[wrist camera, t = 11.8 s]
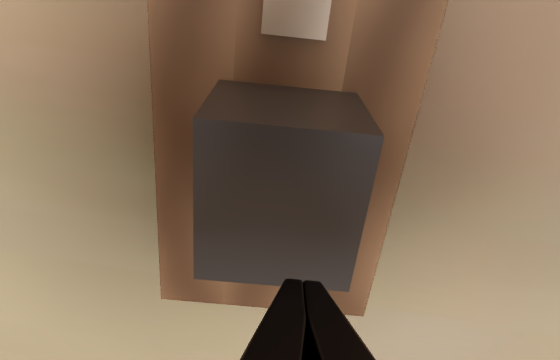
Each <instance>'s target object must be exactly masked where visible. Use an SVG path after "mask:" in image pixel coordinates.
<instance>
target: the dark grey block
mask: <svg viewBox="0 0 560 360" xmlns="http://www.w3.org/2000/svg"><path fill="white" fill-rule="evenodd" d="M383 141H384V135H383V133H382V131H381V130H380V128H379V127H378V125H377V124H376V122H375V120H374V119H373V117H372V116H371V114H370V113H369V111H368V109H367V108H366V106H365V105H364V103H363V102H362V100H361V98H360V97H359V95H358V94H357V93H351V92H341V91H331V90H321V89H311V88H301V87H291V86H281V85H271V84H260V83H250V82H240V81H230V80H220V79H219V80H218V82H217V83H216V85H215V86H214V88H213V89H212V91H211V92H210V94H209V95H208V96H207V98H206V99H205V101H204V102H203V104H202V105H201V107H200V108H199V109H198V111H197V112H196V114H195V115H194V117H193V279H198V280H210V281H222V282H234V283H246V284H258V285H270V286H281V285H282V283H283V281H284V280H285V279H287V278H290V279H300V280H302V282H304V281H305V280H312V281H320V282H321V283H322V284H323V285H324V287H325V288H326V290H329V291H341V292H349V290H350V285H351V281H352V276H353V272H354V268H355V263H356V259H357V255H358V250H359V246H360V241H361V237H362V233H363V228H364V224H365V220H366V215H367V211H368V206H369V202H370V198H371V193H372V189H373V185H374V180H375V176H376V171H377V167H378V163H379V158H380V154H381V150H382V145H383Z"/></svg>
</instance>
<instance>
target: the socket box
mask: <svg viewBox="0 0 560 360" xmlns="http://www.w3.org/2000/svg"><path fill="white" fill-rule="evenodd" d="M147 2H148V24H149V46H150V67H151V89H152V111H153V133H154V155H155V177H156V198H157V220H158V242H159V264H160V286H161V299H170V300H181V301H193V302H204V303H216V304H228V305H239V306H251V307H262V308H269V307H270V305H271V303H272V301H273V299H274V298H275V296H276V294H277V292H278V290H279V289H280V287H281V286H270V285H258V284H246V283H234V282H222V281H210V280H198V279H193V117H194V115H195V114H196V112H197V111H198V109H199V108H200V107H201V105H202V104H203V102H204V101H205V99H206V98H207V96H208V95H209V94H210V92H211V91H212V89H213V88H214V86H215V85H216V83H217V82H218V80H219V79H220V80H230V81H240V82H250V83H260V84H271V85H281V86H291V87H301V88H311V89H321V90H331V91H341V92H351V93H357V94H358V95H359V97H360V98H361V100H362V102H363V103H364V105H365V106H366V108H367V109H368V111H369V113H370V114H371V116H372V117H373V119H374V120H375V122H376V124H377V125H378V127H379V128H380V130H381V131H382V133H383V135H384V141H383V145H382V150H381V154H380V158H379V163H378V167H377V171H376V176H375V180H374V185H373V189H372V193H371V198H370V202H369V206H368V211H367V215H366V220H365V224H364V228H363V233H362V237H361V241H360V246H359V250H358V255H357V259H356V263H355V268H354V272H353V276H352V281H351V285H350V290H349V292H341V291H329V290H327V291H328V292H329V294H330V295H331V297H332V298H333V300H334V301H335V302H336V304H337V305H338V307H339V308H340V310H341V311H342V312H343V314H344V315H354V316H364V313H365V309H366V305H367V301H368V298H369V294H370V290H371V287H372V283H373V279H374V275H375V272H376V268H377V264H378V260H379V257H380V253H381V249H382V246H383V242H384V238H385V234H386V231H387V227H388V223H389V219H390V216H391V212H392V208H393V204H394V201H395V197H396V193H397V190H398V186H399V182H400V178H401V175H402V171H403V167H404V163H405V160H406V156H407V152H408V149H409V145H410V141H411V137H412V134H413V130H414V126H415V122H416V119H417V115H418V111H419V107H420V104H421V100H422V96H423V93H424V89H425V85H426V81H427V78H428V74H429V70H430V66H431V63H432V59H433V55H434V52H435V48H436V44H437V40H438V37H439V33H440V29H441V25H442V22H443V18H444V14H445V11H446V7H447V3H448V0H147Z"/></svg>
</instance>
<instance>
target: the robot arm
mask: <svg viewBox="0 0 560 360" xmlns="http://www.w3.org/2000/svg"><path fill="white" fill-rule="evenodd" d="M240 360H376V359H375V358H374V357H373V355H372V354H371V352H370V351H369V349H368V348H367V347H366V345H365V344H364V342H363V341H362V339H361V338H360V337H359V335H358V334H357V332H356V331H355V330H354V328H353V327H352V325H351V324H350V322H349V321H348V320H347V318H346V317H345V315H344V314H343V312H342V311H341V310H340V308H339V307H338V305H337V304H336V302H335V301H334V300H333V298H332V297H331V295H330V294H329V292H328V291H327V290H326V288H325V287H324V285H323V284H322V283H321V282H320V281H312V280H305V281H304V282H302V280H300V279H290V278H287V279H285V280H284V281H283V283H282V285H281V287H280V289H279V290H278V292H277V294H276V296H275V298H274V299H273V301H272V303H271V305H270V307H269V308H268V310H267V312H266V314H265V316H264V317H263V319H262V321H261V323H260V325H259V326H258V328H257V330H256V332H255V333H254V335H253V337H252V339H251V341H250V342H249V344H248V346H247V348H246V350H245V351H244V353H243V355H242V357H241V359H240Z"/></svg>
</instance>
